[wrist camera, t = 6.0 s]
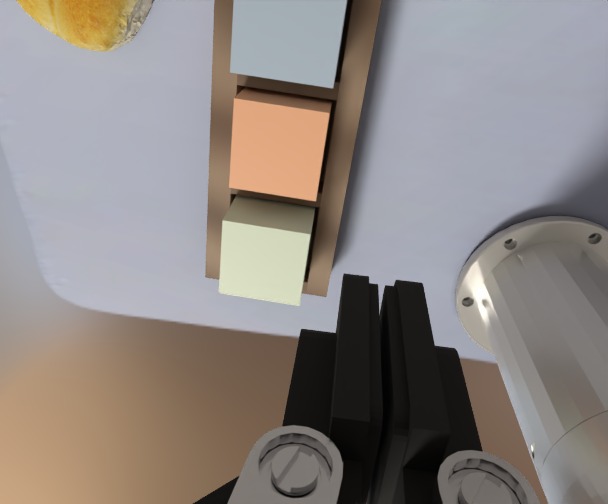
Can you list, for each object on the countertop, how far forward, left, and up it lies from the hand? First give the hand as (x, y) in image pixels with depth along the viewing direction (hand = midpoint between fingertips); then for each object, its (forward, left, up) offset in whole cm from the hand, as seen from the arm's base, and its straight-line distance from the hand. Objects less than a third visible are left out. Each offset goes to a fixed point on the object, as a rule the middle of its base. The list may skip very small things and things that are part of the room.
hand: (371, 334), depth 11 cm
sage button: (-4, +10, -22) cm, 24 cm away
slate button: (+6, 0, -21) cm, 22 cm away
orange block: (+1, +5, -23) cm, 23 cm away
